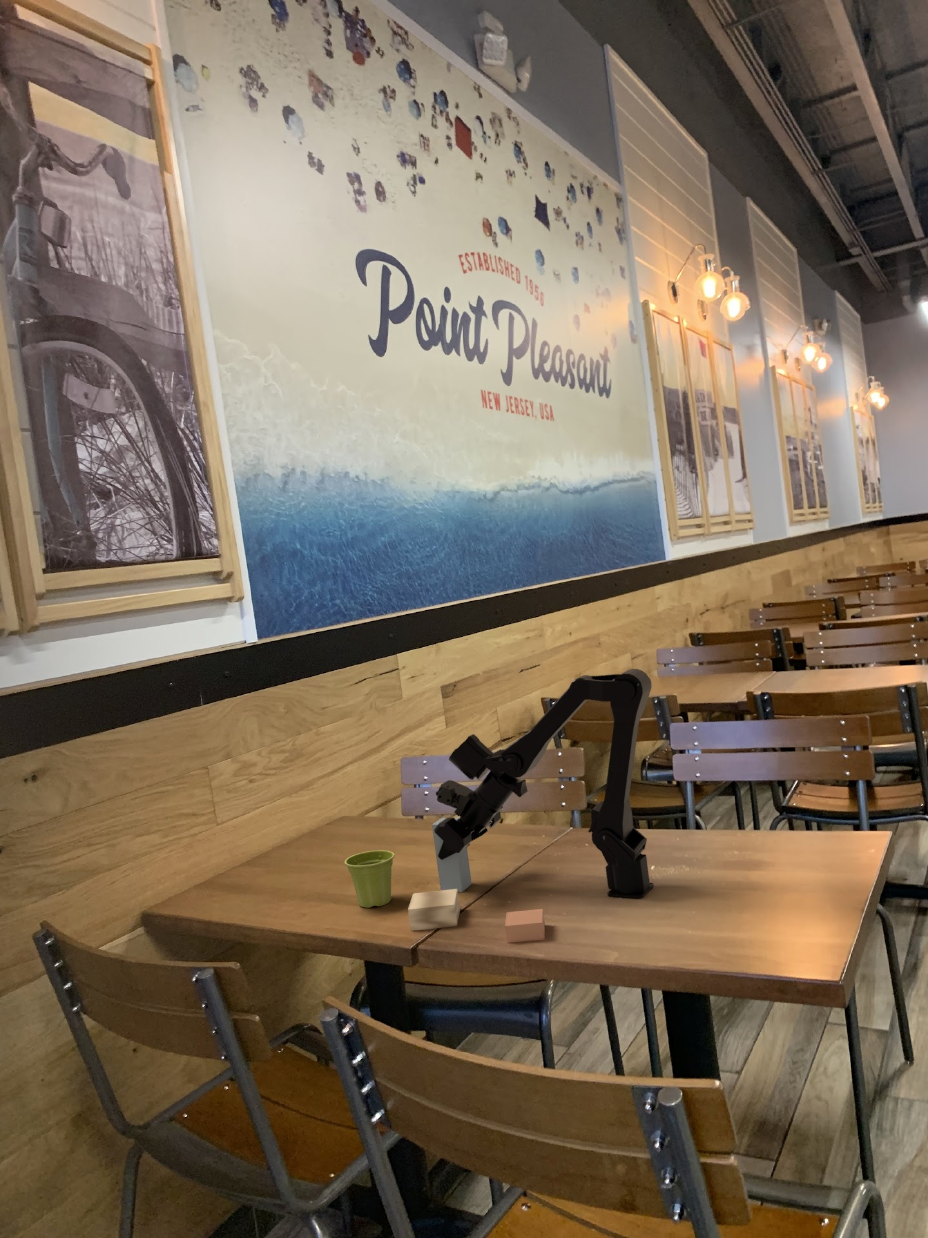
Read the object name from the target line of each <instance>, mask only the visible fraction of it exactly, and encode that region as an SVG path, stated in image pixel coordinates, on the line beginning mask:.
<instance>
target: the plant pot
mask: <svg viewBox="0 0 928 1238" xmlns="http://www.w3.org/2000/svg"><path fill="white" fill-rule="evenodd" d="M394 858H395V853H394V852H392V851H390V850H383V849H381V850H380V849H379V850H378V849H377V850H369V851H363V852H359V853H356V854H353V855H351V856H348V857H347V858H346V859H345V860H344V865H345V866H346V867H347V869H348V872H349V873H350V875H351V879H352V883H353V887H354V891H355V894H356V895H355V896H356V898H357V902H358V905H359V906H360V907H362V908H367V909H368V908H372V907H375V906H376V907H383V906H384V905H387V904H389V903H390V902H391V900H392V867H393V864H394V861H393V859H394Z"/></svg>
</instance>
